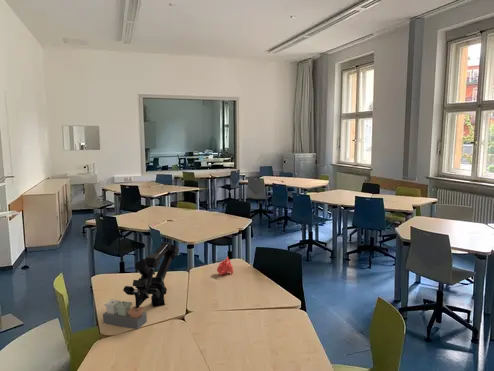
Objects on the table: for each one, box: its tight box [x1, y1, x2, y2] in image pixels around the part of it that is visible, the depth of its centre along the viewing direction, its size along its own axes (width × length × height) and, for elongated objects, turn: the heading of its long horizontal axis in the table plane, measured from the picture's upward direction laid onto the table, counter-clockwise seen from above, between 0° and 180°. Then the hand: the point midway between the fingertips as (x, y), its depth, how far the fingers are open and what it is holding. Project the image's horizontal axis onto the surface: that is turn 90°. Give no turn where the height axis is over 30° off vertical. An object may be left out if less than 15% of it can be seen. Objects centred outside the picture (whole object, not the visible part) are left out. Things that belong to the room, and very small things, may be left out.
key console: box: [102, 311, 148, 330], centre depth 192 cm, size 8×21×5 cm, turn 71°
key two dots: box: [116, 300, 133, 316], centre depth 192 cm, size 6×6×7 cm
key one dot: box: [104, 299, 122, 314], centre depth 194 cm, size 6×6×7 cm
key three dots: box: [128, 305, 145, 318], centre depth 190 cm, size 6×6×7 cm
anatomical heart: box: [216, 256, 234, 276], centre depth 257 cm, size 9×12×12 cm
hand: (136, 307), depth 190 cm, fingers closed
